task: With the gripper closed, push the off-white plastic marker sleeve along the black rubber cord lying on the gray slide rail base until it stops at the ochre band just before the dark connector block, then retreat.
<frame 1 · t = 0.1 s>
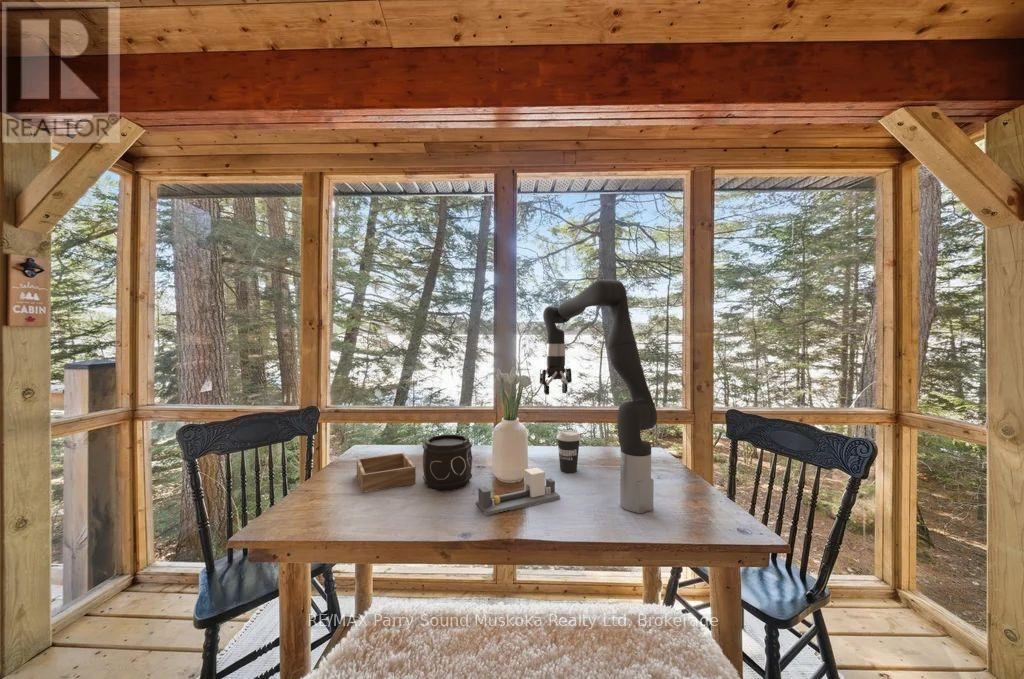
hand: (555, 393, 164), 29 cm above the table, fingers open, 8 cm apart
coffee cup: (568, 470, 157), on the table
gray slide rail base: (518, 501, 128), on the table
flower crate: (385, 478, 148), on the table
black canister: (448, 482, 144), on the table
marker sleeve: (534, 482, 131), point 5 cm above the table, slide at 0.0 cm
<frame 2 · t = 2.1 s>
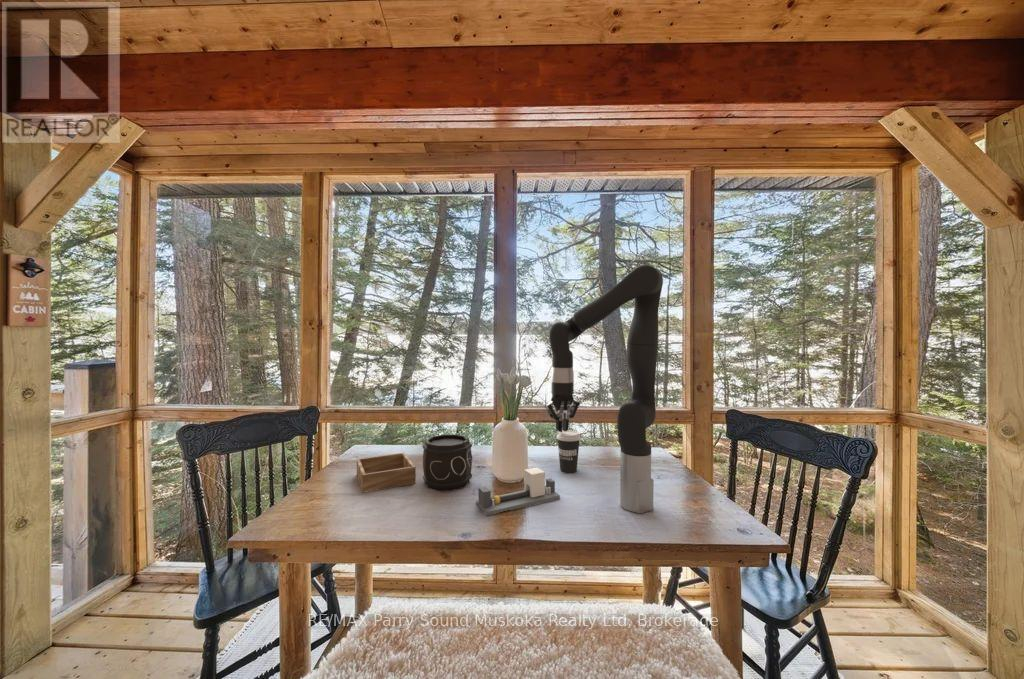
hand: (562, 430, 136), 21 cm above the table, fingers closed
nothing on the table moved.
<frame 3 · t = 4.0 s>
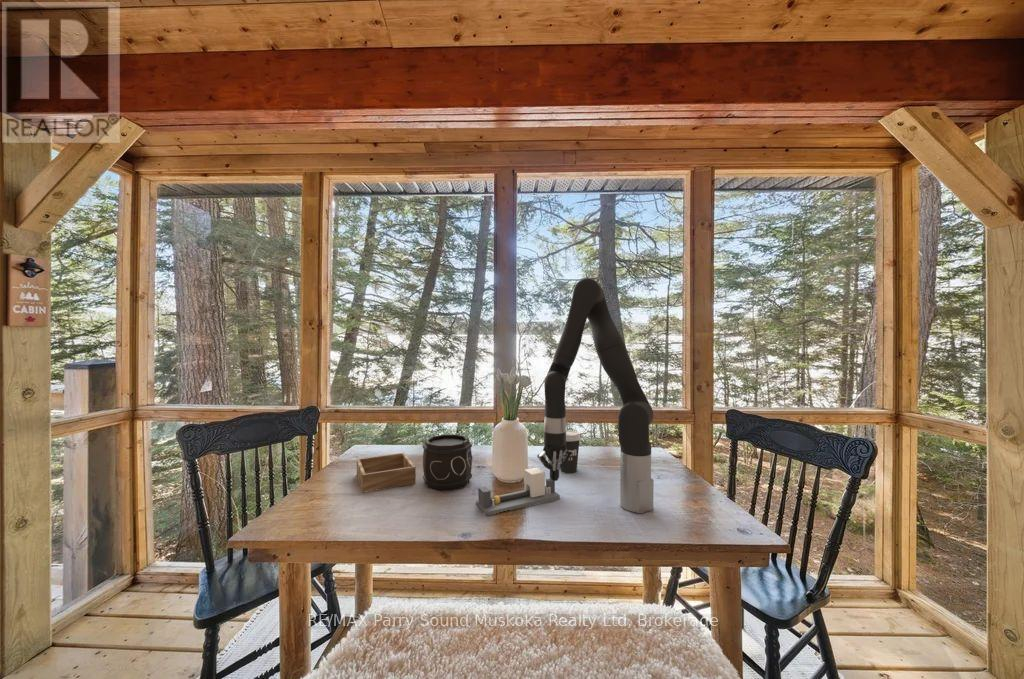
hand: (554, 480, 135), 4 cm above the table, fingers closed
nothing on the table moved.
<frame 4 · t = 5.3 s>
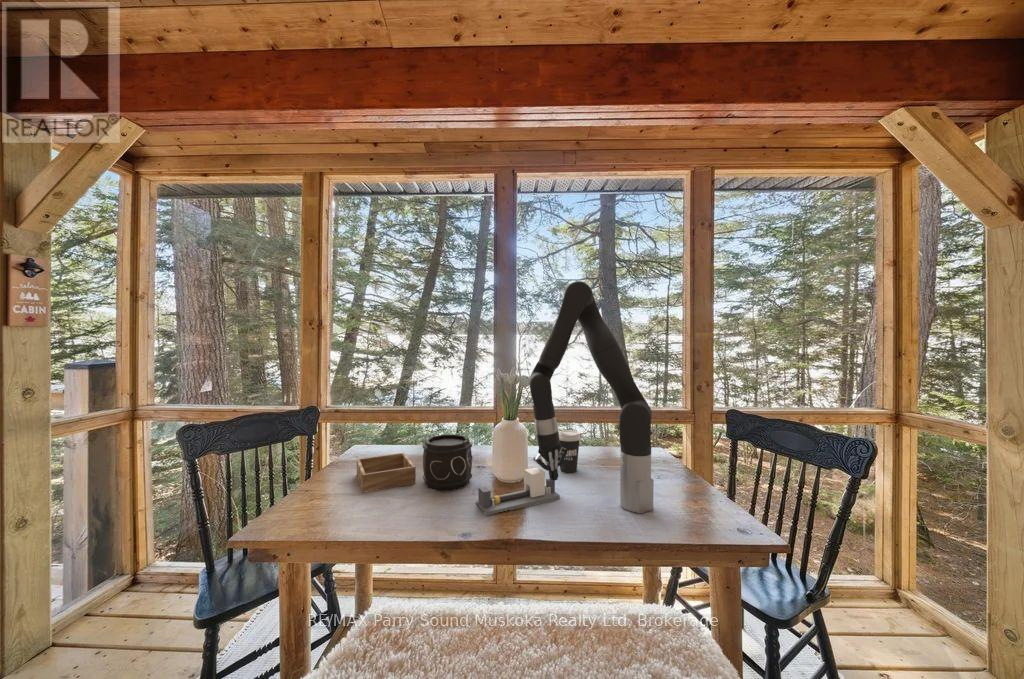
hand: (554, 479, 135), 5 cm above the table, fingers closed
nothing on the table moved.
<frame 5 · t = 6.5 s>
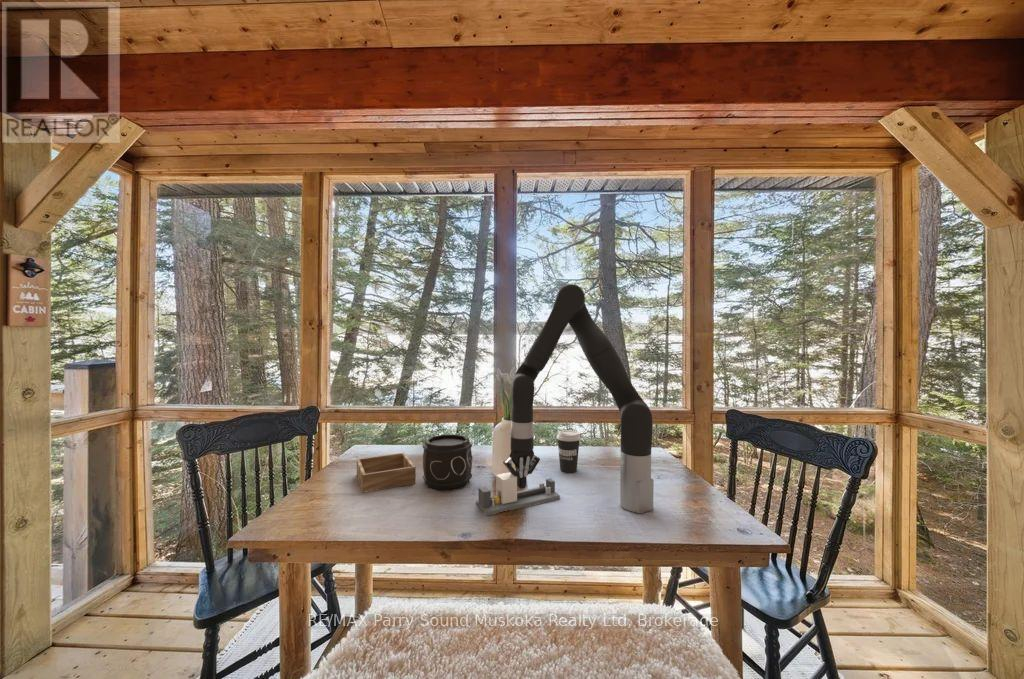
hand: (521, 487, 129), 4 cm above the table, fingers closed
marker sleeve: (506, 487, 126), point 5 cm above the table, slide at 10.4 cm, touching hand
everything else where it was.
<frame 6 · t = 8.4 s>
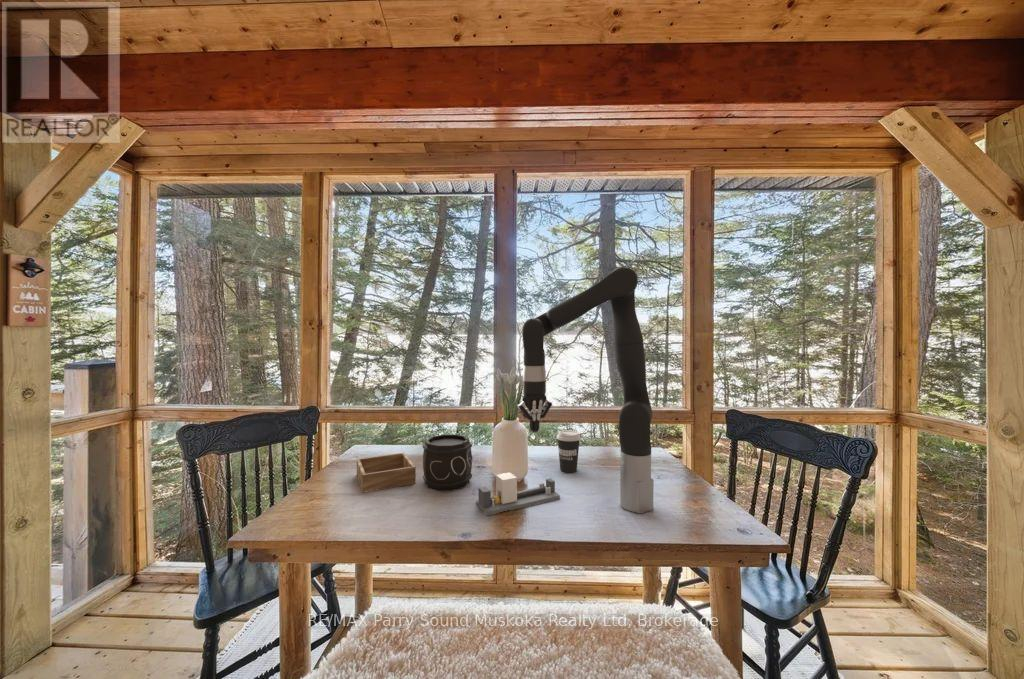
hand: (534, 431, 131), 22 cm above the table, fingers closed
marker sleeve: (506, 487, 126), point 5 cm above the table, slide at 10.4 cm
everything else where it was.
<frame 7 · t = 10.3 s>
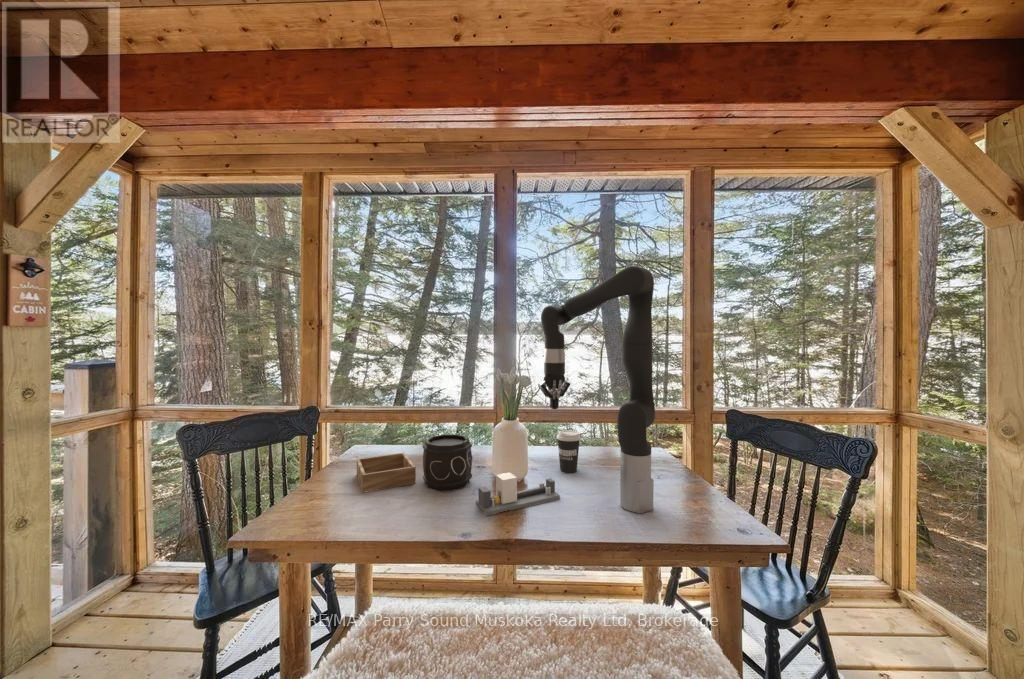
hand: (554, 408, 143), 27 cm above the table, fingers closed
nothing on the table moved.
at the end: marker sleeve slide at 10.4 cm; the gripper is holding nothing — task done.
